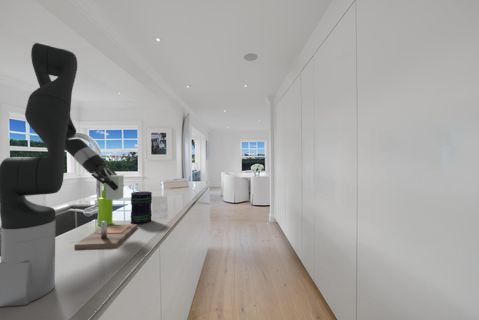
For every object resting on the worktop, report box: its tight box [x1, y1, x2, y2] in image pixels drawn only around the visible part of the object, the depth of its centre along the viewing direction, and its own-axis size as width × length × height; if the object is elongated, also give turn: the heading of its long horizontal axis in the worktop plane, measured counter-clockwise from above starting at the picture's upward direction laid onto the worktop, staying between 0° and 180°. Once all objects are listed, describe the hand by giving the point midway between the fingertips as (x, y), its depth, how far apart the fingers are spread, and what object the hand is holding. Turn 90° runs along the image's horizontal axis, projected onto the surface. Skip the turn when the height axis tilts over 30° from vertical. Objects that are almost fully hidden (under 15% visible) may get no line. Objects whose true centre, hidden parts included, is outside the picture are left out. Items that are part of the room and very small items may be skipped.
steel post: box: [100, 221, 107, 239], centre depth 81 cm, size 2×2×6 cm
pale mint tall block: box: [106, 174, 124, 201], centre depth 90 cm, size 5×5×10 cm
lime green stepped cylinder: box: [97, 183, 114, 227], centre depth 102 cm, size 6×7×20 cm
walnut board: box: [73, 223, 138, 250], centre depth 86 cm, size 22×14×2 cm, turn 8°
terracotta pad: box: [98, 226, 129, 234], centre depth 90 cm, size 9×9×1 cm
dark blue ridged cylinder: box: [130, 191, 153, 226], centre depth 107 cm, size 10×10×15 cm
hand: (119, 187), depth 90 cm, fingers closed on pale mint tall block, 5 cm apart
